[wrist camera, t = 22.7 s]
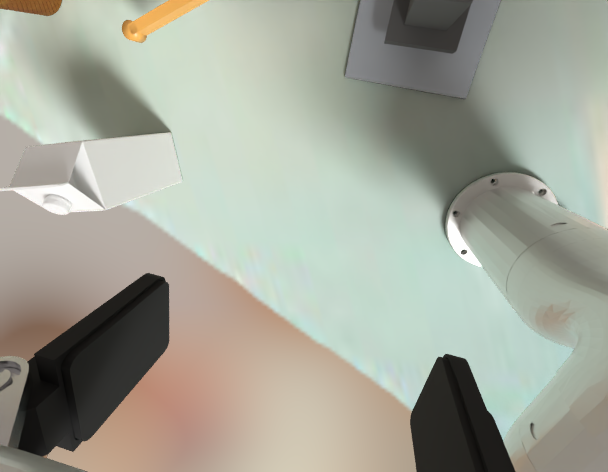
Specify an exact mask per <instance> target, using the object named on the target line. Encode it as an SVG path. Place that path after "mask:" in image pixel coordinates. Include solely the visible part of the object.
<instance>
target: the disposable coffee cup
mask: <svg viewBox="0 0 608 472" xmlns="http://www.w3.org/2000/svg"><path fill="white" fill-rule="evenodd" d="M61 2H62V0H0V9H6V10H8V9H9V10H14V11H19V12H25V13H32V14H33V13H34V14H39V15H44V16H50V15H53V14H54V13H56V12H57V11H58V10H59V8H60V6H61Z"/></svg>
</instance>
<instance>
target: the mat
mask: <svg viewBox="0 0 608 472" xmlns="http://www.w3.org/2000/svg"><path fill="white" fill-rule="evenodd" d="M393 2H394V0H360V4H359V9H358V14H357V19H356V24H355V29H354V33H353V38H352V43H351V48H350V53H349V58H348V63H347V68H346V73H345V77H346V78H352V79H357V80H363V81H368V82H374V83H380V84H385V85H391V86H396V87H402V88H407V89H413V90H418V91H424V92H429V93H435V94H440V95H446V96H452V97H457V98H463V99H466V97H467V94H468V91H469V89H470V86H471V83H472V80H473V77H474V75H475V72H476V69H477V66H478V63H479V61H480V58H481V55H482V52H483V49H484V46H485V44H486V41H487V38H488V35H489V32H490V30H491V27H492V24H493V21H494V18H495V16H496V13H497V10H498V7H499V4H500V2H501V0H473V2H472V4H471V6H470V10H469V13H468V16H467V19H466V22H465V25H464V29H463V32H462V35H461V38H460V41H459V45H458V48H457V51H456V52H454V53H453V54H451V53H444V52H437V51H431V50H424V49H417V48H411V47H404V46H397V45H391V44H384V41H385V37H386V32H387V28H388V24H389V19H390V15H391V10H392V6H393Z"/></svg>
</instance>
